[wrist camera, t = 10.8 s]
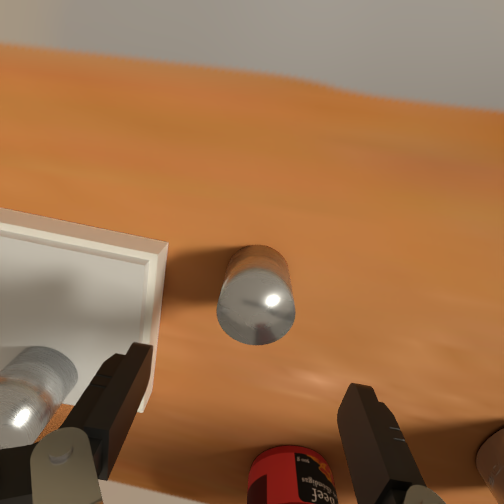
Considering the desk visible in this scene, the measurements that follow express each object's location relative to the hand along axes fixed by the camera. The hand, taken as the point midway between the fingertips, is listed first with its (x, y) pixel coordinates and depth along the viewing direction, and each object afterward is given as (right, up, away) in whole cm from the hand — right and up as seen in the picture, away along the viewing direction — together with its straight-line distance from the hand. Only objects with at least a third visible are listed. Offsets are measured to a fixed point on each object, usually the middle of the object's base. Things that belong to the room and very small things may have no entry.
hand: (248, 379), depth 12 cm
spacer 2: (+1, +4, +9) cm, 10 cm away
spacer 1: (-15, -3, +10) cm, 18 cm away
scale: (-14, +1, +11) cm, 18 cm away
